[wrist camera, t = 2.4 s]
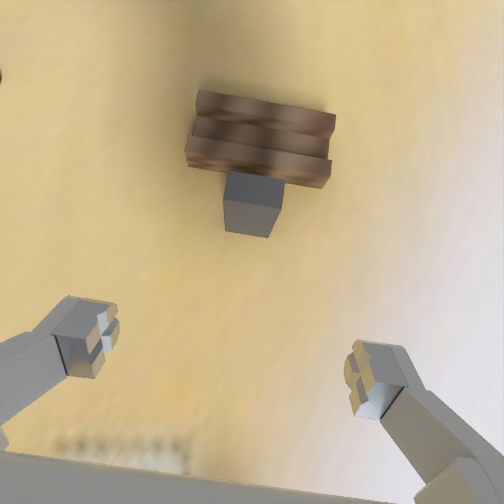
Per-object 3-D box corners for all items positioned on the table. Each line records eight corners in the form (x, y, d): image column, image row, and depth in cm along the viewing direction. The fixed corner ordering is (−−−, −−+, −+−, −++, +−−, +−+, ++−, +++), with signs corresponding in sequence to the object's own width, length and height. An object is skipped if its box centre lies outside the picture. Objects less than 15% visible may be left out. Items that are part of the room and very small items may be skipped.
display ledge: (188, 166, 38) (184, 151, 34) (201, 109, 40) (198, 89, 36) (321, 189, 38) (330, 176, 35) (327, 131, 40) (336, 114, 37)
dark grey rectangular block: (268, 238, 36) (281, 209, 26) (225, 231, 36) (223, 199, 26) (271, 215, 37) (285, 179, 27) (229, 208, 37) (228, 169, 27)
